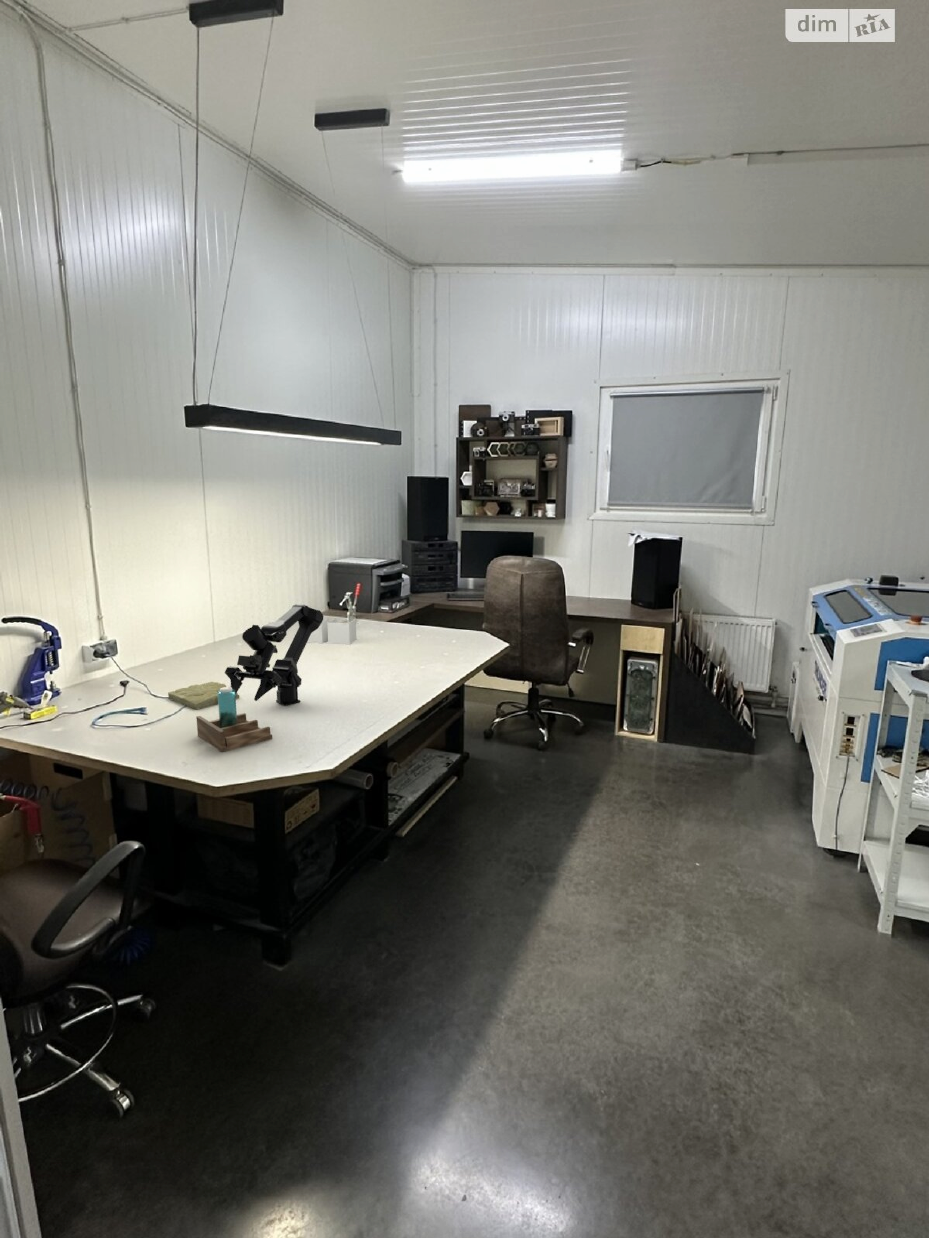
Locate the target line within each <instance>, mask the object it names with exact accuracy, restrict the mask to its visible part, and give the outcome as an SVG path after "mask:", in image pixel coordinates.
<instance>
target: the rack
mask: <svg viewBox="0 0 929 1238" xmlns="http://www.w3.org/2000/svg"><path fill="white" fill-rule="evenodd" d="M196 730H197V736H198V737H200V738H201V739H202V740H204V741H205V742H207V743H208V744H209V745H211V746H212V747H214V748H215V749H217V750H218V751H219V752H221V753H223V752H226V751H231V750H235V749H238V748H242V747H246V746H249V745H253V744H256V743H257V744H258V743H262V742H265V741H268V740H272V739H273V735H272V734H271V727H269V726H266V727H265V726H264V727H259V721H258V720H257V719H253V720H250V721H248V720H247V714H246V713H239V714H237V724H236V725H232V726H228V727H224V728H220V720H219V718H218V719H217V718H216V719H214V720H210V721H209V720H207V719H206V718H205V717H203V716H201V715H197V716H196Z"/></svg>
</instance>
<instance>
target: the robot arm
mask: <svg viewBox="0 0 929 1238" xmlns="http://www.w3.org/2000/svg"><path fill="white" fill-rule="evenodd" d="M322 621H324V614H323V613H322V611H321V610H319V609H315V608H312V607H309V606H308V605H306V604H299V603H298V604H297V603H295V604H294V605H292V606H291V608H290V609H289V610H287V612H285V613H284V614H283V615H281V616H280V617H279V618H278V619H277V620H275V621H271V622H268V623H265V624H263V626H262V627H261V626H260V625H259V624H252V626H250V627H249V628H247V629H246V630H244V632H243V633H242V636H241V638H242V640H243V642H245V644H246V645H247V646H249V648H251V650H252V651H254V653H253V655H251V654H250V655H241V654H240V655H238V657H237V658H238V660H237V663H236V666H227V667H226V669H225V670H224V674H225V675H226V676H227V678H229V680H230V687H232V689H233V690H235V694H236V693H238V691H239V689H240V688H241V686H242V685H243V681H244V680H245V679H253V680H254V679H255V680H259V682H260V684H259V686H258V689H257V690H256V693H255V695H254V698H253V700H254V701H255V702H257V701H259V700H260V699H261V698H262V697H263V696H264V695H265V694H266V693H268V692H269V691H271V690H272V689H274V688H276V687H277V690H276V700H275V701H276V703H278V704H281V705H282V706H289V705H292V704H293V705H294V704H296V703H297V704H298V703H300V702H301V700H300V699H299V694H298V691H299V690H298V688H300V686H302V679H303V678H301V677H300V675H299V674H298V673H299V669H298V666H297V665H298V662H299V660H300V657H302V653H303V651H304V649H305V648H306V645H307V644H308V643H307V641H308V639H309V637H310V635H311V633H312V632H314V631H315V630H316V629H318V628H319V626H320V625H321V623H322ZM297 622H298V629H297V630H296V633H295V634H294V637H293V638H292V641H291V642H290V645H289V648H288V650H287V651H286V653H285V656H284V657H283V658H282V659H280V658H279V659H276V660H275V663H274V664H273V666H272V667H271V663H270V661H271V658H272V656H273V654H278V648H277V644H274V643H281V642H283V640H284V639H285V638H286V636H287V631H289V629H291V627H293V626H294V625H295V624H296V623H297ZM239 666H241V667H242V669H243V670H241V668H239ZM270 667H271V670H269V669H270ZM268 668H269V669H268ZM244 670H245V671H244Z"/></svg>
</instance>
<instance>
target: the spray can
mask: <svg viewBox="0 0 929 1238" xmlns="http://www.w3.org/2000/svg"><path fill="white" fill-rule="evenodd" d="M217 705H218V719H219V720H220V728H224V727H228V726H232V725H236V724H237V715H238V713H237V711H238V710H237V699H236V696H235V690H233V689H232V687H231V686H226V687H223V688H221V689H220V691H218V704H217Z"/></svg>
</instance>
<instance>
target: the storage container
mask: <svg viewBox="0 0 929 1238" xmlns="http://www.w3.org/2000/svg"><path fill="white" fill-rule="evenodd" d="M355 640H356V641H357V618H353V619H352V620H351V621H350V622H338V618H337V617H336V618H333V619H330V617H327V618H326V619H323V621H322V623H321V625H320V626H319V628H318V629H316V630H315V631H314V632H312V633H311V635H310V637H309V639H308V641H307V643H306V644H315V643H318V644H324V643H327V644H328V645H343V646H344V645H345V646H347V645H349V646H350V645H351V644H353V643H354V642H356V641H355Z"/></svg>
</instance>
